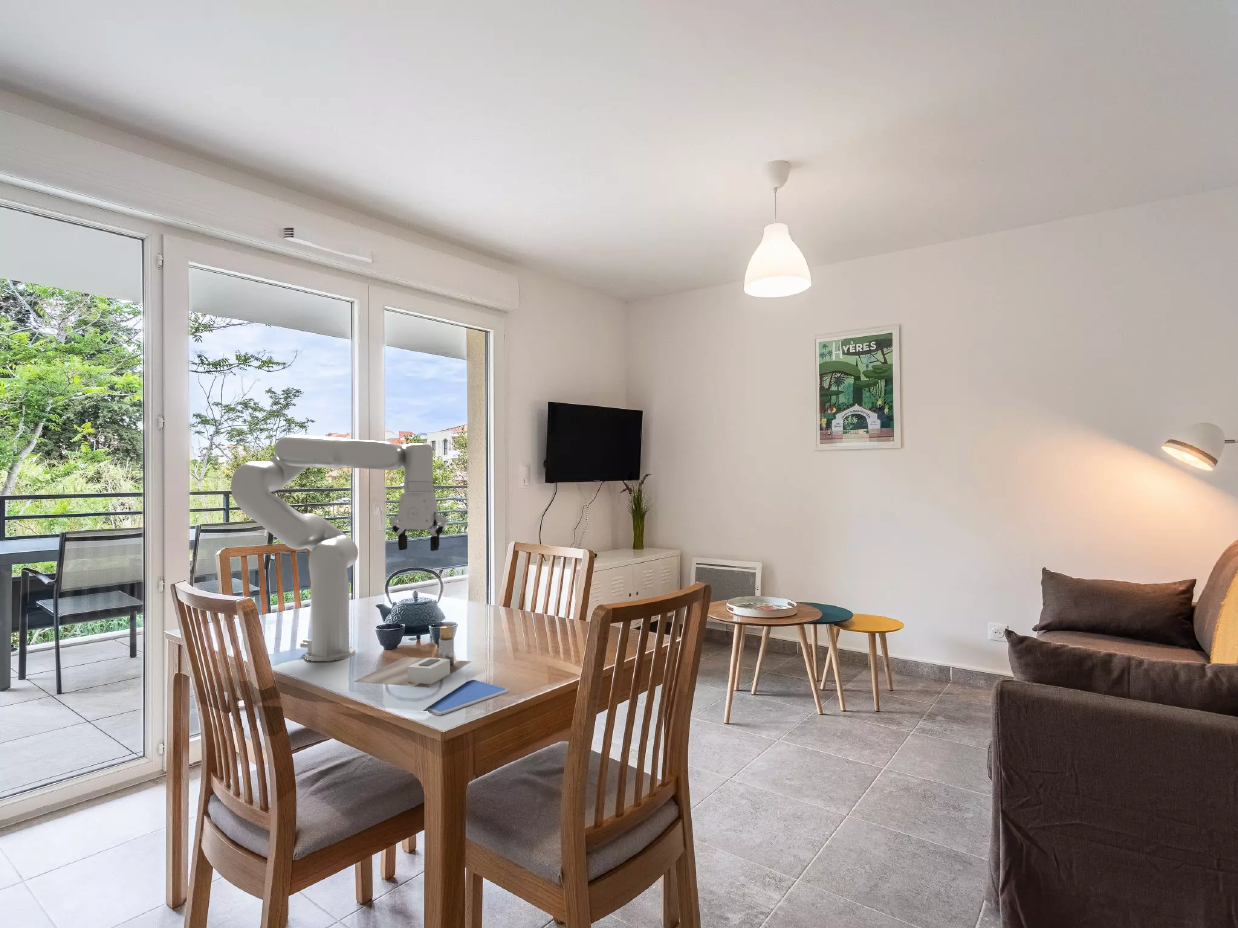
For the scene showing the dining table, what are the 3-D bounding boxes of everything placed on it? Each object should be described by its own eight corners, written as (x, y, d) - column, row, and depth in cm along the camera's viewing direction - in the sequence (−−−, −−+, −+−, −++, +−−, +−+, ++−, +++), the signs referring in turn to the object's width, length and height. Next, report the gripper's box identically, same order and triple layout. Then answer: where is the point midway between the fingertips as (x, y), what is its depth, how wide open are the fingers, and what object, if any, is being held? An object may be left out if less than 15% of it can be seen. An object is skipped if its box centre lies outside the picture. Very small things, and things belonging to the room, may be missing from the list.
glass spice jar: (436, 666, 164) (436, 628, 164) (443, 662, 167) (443, 624, 167) (449, 667, 163) (449, 628, 163) (456, 663, 166) (456, 625, 167)
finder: (408, 681, 152) (407, 665, 152) (427, 671, 159) (427, 656, 159) (430, 684, 150) (430, 667, 150) (449, 673, 158) (449, 658, 158)
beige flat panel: (354, 687, 152) (354, 681, 152) (404, 662, 173) (404, 656, 173) (428, 693, 148) (428, 686, 148) (471, 667, 168) (471, 661, 168)
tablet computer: (473, 683, 157) (473, 677, 157) (510, 693, 149) (510, 687, 149) (402, 706, 142) (402, 700, 142) (440, 719, 134) (440, 712, 134)
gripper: (382, 488, 182) (383, 551, 181) (440, 488, 178) (440, 552, 177) (398, 488, 189) (398, 548, 189) (453, 487, 185) (453, 549, 185)
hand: (418, 550), depth 183 cm, fingers open, 9 cm apart
